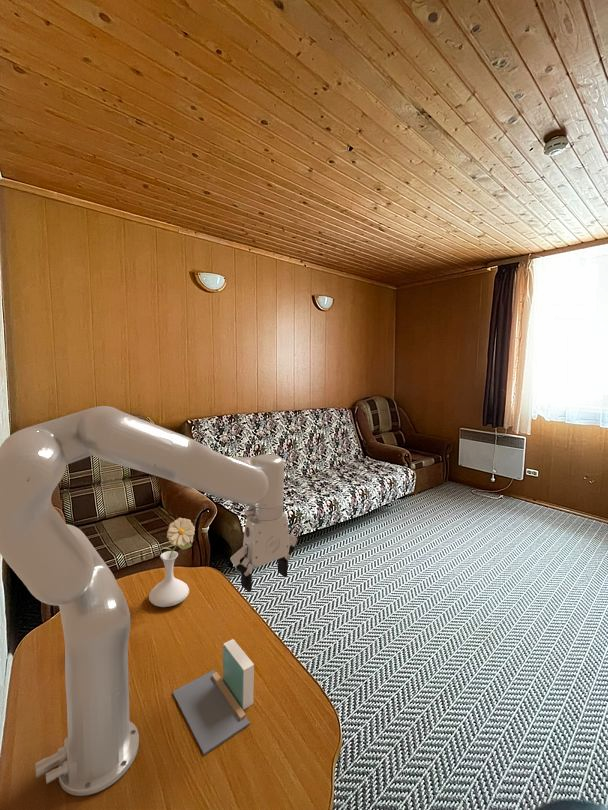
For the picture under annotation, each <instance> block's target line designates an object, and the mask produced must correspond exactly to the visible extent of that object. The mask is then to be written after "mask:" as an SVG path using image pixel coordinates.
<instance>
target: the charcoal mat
mask: <svg viewBox="0 0 608 810" xmlns="http://www.w3.org/2000/svg"><path fill="white" fill-rule="evenodd" d="M172 694H173V695H172V696H173V697H174V699H175V700H176V703H177V705H178V707H179V709H180V711H181V713H182V715H183V717H184V718H185V720H186V723H187V724H188V727H189V728H190V731H191V732H192V734H193V736H194V738H195V741H196V742H197V744H198V746H199V748H200V750H201V752H202V754H203V756H206V755H207V754H208V753H210V752H212V750H214V749H215V748H217V747H218V746H220V745H222V744H223V743H225V742H226V741H228V740H230V739H231V738H232V737H233V736H235V735H236V734H238V733H240V732H241V731H243V730H244V729H246V728H247V727H249V725H251V722H250V720H249V719H248V717H247V716H246V713H245V711H244V710H243V709H242V708H241V707H240V705H239V704H238V702H237V701H236V699H235V698H234V696H233V695H232V694H231V692H230V691H229V689H228V688H227V686H226V685H225V683H224V682H223V678H222V677H221V675H220V674H219V673H218V671H216V670H215V669H212V670H211V671H209V672H207V673H205V674H202V676H199V677H198V678H195V679H194V680H192V681H190V682H188V683H186V684H184V685H181V686H180V687H179V688H176V689H175V690H173V691H172Z"/></svg>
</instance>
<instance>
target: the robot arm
mask: <svg viewBox="0 0 608 810" xmlns="http://www.w3.org/2000/svg"><path fill="white" fill-rule="evenodd" d="M91 456H94V457H96V458H98V459H100V460H102V461H106V462H107V463H108V462H109V463H111V464H115V465H119V466H121V467H125V468H129V469H133V470H136V471H139V472H143V473H145V474H149V475H152V476H155V477H158V478H162V479H165V480H168V481H171V482H173V483H176V484H178V485H181V486H185V487H188V488H191V489H194V490H196V491H200V492H203V493H205V494H208V495H210V496H213V497H216V498H219V499H223V500H227V501H229V502H233V503H236V504H240V505H245V506H248V509H246V510H245V511H244V515H245V516H246V522H245V526H244V531H243V533H244V534H243V542H242V547H241V548H239V549H238V550H237V551H236V552H235V553H234V554H233V555H232V556H231V557H230V562H231V563H232V564H233V566H234V568H235V569H237V571H239V572H240V585H241V587H242V588H243V589H245V590H246V592H248V593H250V592H252V590H253V585H252V584H253V575H252V574H251V572H252V570H253V569H254V567H255V568H256V567H261V566H264V565H266V564H269V563H272V562H274V561H277V572H278V574H280V575H281V576H283V578H287V577H288V570H289V561H290V560H291V555H292V553H294V551H295V546H296V544H297V542H298V537H297V536H295V535H292V534H289V533H290V530H289V523H288V516H287V514H286V513H285V512H284V485H285V483H284V482H285V481H284V480H285V479H284V478H285V476H284V475H285V461H284V460H283V458H282V457H281V456H280V455H278V454H277V455H276V454H270V453H269V454H264V453H263V454H259V455H258V454H257V455H256V456H249V457H248V456H247V457H246V456H241V457H239V456H237V457H236V456H227V455H225V454H222V453H220V452H218V451H216V450H214V449H212V448H209V447H208V446H206V445H204V444H202V442H199V441H198V440H196V439H193V438H191V437H189V436H186V435H184V434H181V433H179V432H175V431H173V430H171V429H168V428H165V427H163V426H160V425H158V424H155V423H153V422H150V421H147V420H144V419H142V418H140V417H137V416H134V415H132V414H130V413H127V412H124V411H121V410H120V409H118V408H116V407H113V406H109V405H100V406H95V407H91V408H87V409H84V410H80V411H78V412H74V413H71V414H68V415H64V416H61V417H59V418H58V417H57V418H54V419H52V420H48V421H45V422H42V423H41V422H40V423H37V424H34V425H32V426H28V427H25V428H22V429H19V430H17V431H15V432H13V433H12V434H10V435H9V436H8V437H7V438H6V439H4V441H3V442H2V443H1V445H0V555H1V557H2V559H3V560H4V561H5V562H6V564H7V565H8V566H9V568H11V569H12V571H13V572H14V573H15V574H16V576H17V577H18V579H20V580H21V581H22V583H23V585H24V586H25V587H26V588H27V590H28V591H29V593H30V594H31V595H32V596H33V597H34V598H35V599H37V600H38V601H40V602H41V603H42V604H43V603H44V604H46V605H49V606H55V607H56V606H58V608H59V612H60V620H61V626H62V630H63V631H62V632H63V638H64V639H63V640H64V649H65V650H64V651H65V652H64V653H65V655H64V656H65V657H64V670H65V672H64V675H65V676H64V678H65V681H64V682H65V692H66V693H65V696H66V697H65V698H66V714H67V715H66V717H67V720H66V721H67V737H65V738H64V740H63V741H64V746H62V747H60V748H58V749H57V752H56V753H54V754H52V755H50V756H49V757H48V756H47V757H45V758H42V759H41V760H39V761H37V762H35V776H36V777H35V778H39V777H40V776H42V775H44V774H45V782H46V783H45V784H46V785H48V784H49V783H51V782H53V781H55V780H56V779H57V778H58V782H59V785H60V787H61V788H62V790H64V792H66V793H67V794H69V795H72V796H78V797H82V796H90V795H93V794H97V793H100V792H101V791H104V790H105V789H106V788H108V787H110V786H112V785H113V784H114V783H116V782H117V781H119V780H120V778H122V776H123V775H125V773H126V772H128V769H129V768H130V767H131V766H132V764H133V762H134V760H135V759H136V756H137V753H138V751H139V747H140V746H139V745H140V734H139V730H138V728H137V726H136V725H135V723H133V722H132V721H131V720H130V684H129V683H130V681H129V680H130V679H129V678H130V677H129V639H130V631H131V613H130V608H129V605H128V602H127V600H126V597H125V596H124V595H125V594H124V593H123V591H122V588H121V587H120V586H119V583H118V581H117V579H116V578H115V577H116V576H114V574H113V572H112V571H111V569H110V568H109V566H108V565H107V563H106V562H105V560H104V559H103V558H102V557H101V555H100V553H99V552H98V551H97V549H95V547H94V545H93V544H92V543H91V541H90V540H89V538H88V537H87V535H85V533H84V532H83V531H82V530H81V529H80V528H78V527H77V526H75V525H72V524H68V523H65V520H64V519H63V517H62V516H61V514H60V513H59V512H58V511H57V509H56V508H55V507H54V505H53V503H52V495H53V493H54V491H55V489H56V487H58V485H59V483H60V482H61V481H62V478H63V477H64V475H65V472H66V470H67V465H69V464H73V463H76V462H77V461H81V460H84V459H85V458H88V457H91ZM243 558H244V559H243ZM242 559H243V560H242ZM240 560H242V562H241V561H240ZM57 766H58V767H57ZM55 767H57V768H55ZM53 768H54V769H53ZM51 769H52V770H51Z"/></svg>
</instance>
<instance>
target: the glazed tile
mask: <svg viewBox="0 0 608 810" xmlns="http://www.w3.org/2000/svg"><path fill="white" fill-rule="evenodd" d="M254 677H255V663H253V661H252V660H251V659H250V657H249V656H248V655H247V654H246V653H245V651H244V650H243V649H242V648H241V646H240V645H239V643H237V641H236V640H235V639H234V638H232V639H230V640H228V641H226V642H224V643H223V646H222V680H223V682H224V683H225V685H226V686H227V688H228V689H229V691H230V692H231V694H232V695H233V696H234V698H235V699H236V701H237V702H238V704H239V705H240V707H241V708H242V710H243V711H244V710H246V709H248V708H249V707H250V706H253V704H254V691H255V690H254V688H255V687H254V685H255V683H254V682H255V678H254Z"/></svg>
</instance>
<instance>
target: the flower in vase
mask: <svg viewBox="0 0 608 810" xmlns="http://www.w3.org/2000/svg"><path fill="white" fill-rule="evenodd" d="M195 528H196V526H195V525H194V524H193V522H192V520H191V519H188V518H182V517H178V518H177V519H176V520H174V521H172V522H171V523H170V524H169V525H168V530H167V532H166V538H167V539H168V541H169V542H170V544H171V545H174V547H173V549H171V548H170V547H164V546H161V548H162V549H164V550H167V551H164V552H163V553H161V554H160V556H159V557H160V558H159V559H161V560H162V562H163V564H164V571H165V573H164V574H165V575H164V578H163V580H162V581H160V582H159V583H157V584H156V585H155V586H154V587H153V588H152V589H151V590H150V592H149V594H148V600H149V602H151V604H152V605H153V606H155V607H160V608H166V607H167V608H168V607H172V606H176V605H179V604H180V603H182V602H183V601H185V599H186V598H187V597H188V596H189V594H190V588H189V586H188V584H187V583H186V582H184V581H183V580H182V579H178V578H176V577H175V576H174V566H175V561H176V559H177V557H178V556H179V553H178V552H177V551H175V549H176V548H177V547H178V548H179V549H181V550H183V551H184V550H186V549H187V550H188V549H189V548H191V547H192V546H193V544H192V543H190V542H191V541H193V539H194V535H195V531H196V529H195Z"/></svg>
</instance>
